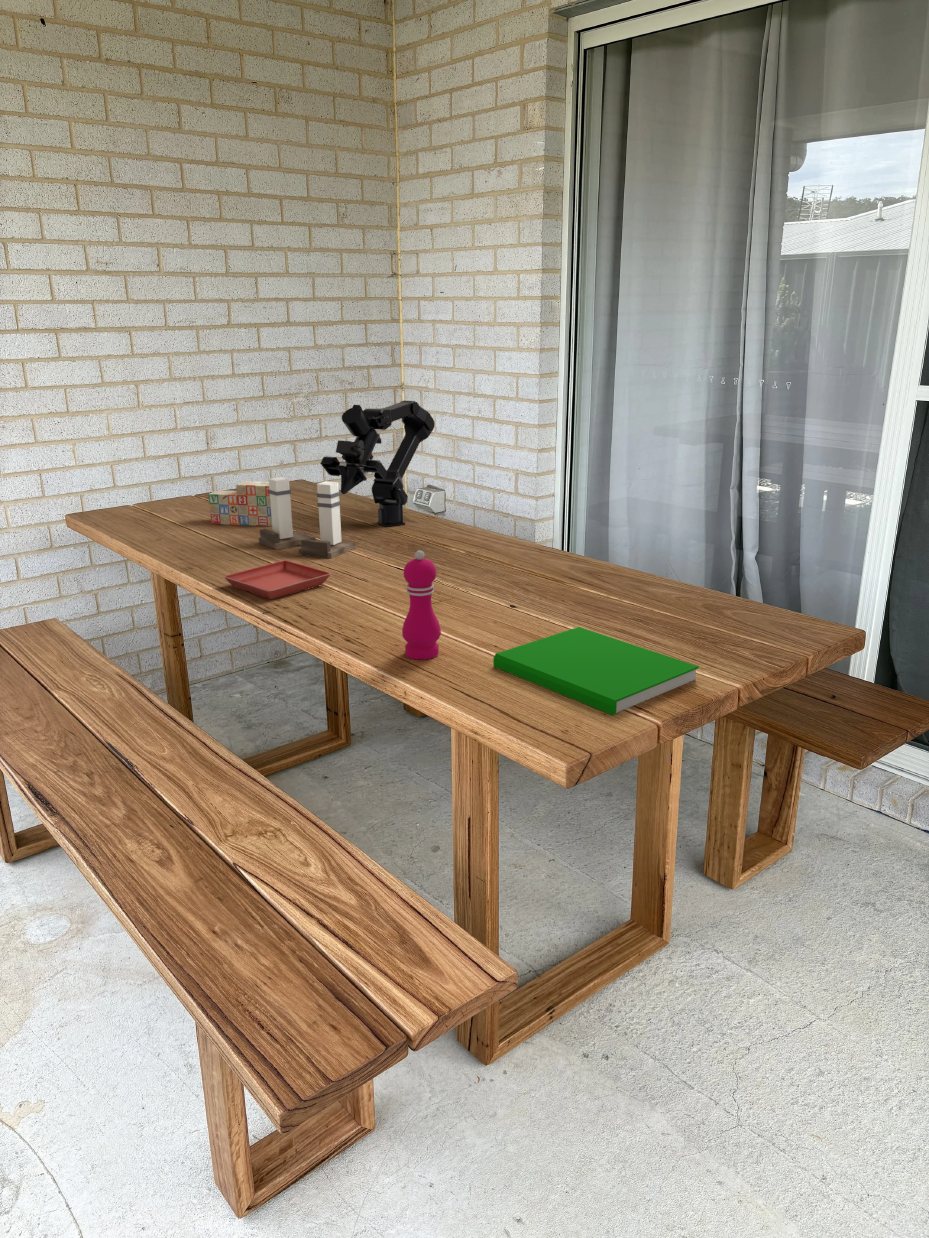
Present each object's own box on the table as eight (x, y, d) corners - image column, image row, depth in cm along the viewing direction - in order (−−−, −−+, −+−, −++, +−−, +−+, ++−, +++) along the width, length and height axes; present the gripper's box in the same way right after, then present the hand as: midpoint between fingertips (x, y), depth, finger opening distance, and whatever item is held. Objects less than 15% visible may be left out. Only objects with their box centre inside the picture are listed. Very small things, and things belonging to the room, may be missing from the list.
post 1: (286, 534, 259) (282, 476, 254) (293, 536, 256) (289, 478, 251) (272, 536, 257) (267, 478, 252) (279, 539, 254) (275, 480, 249)
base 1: (297, 536, 265) (296, 522, 264) (315, 542, 258) (314, 528, 256) (259, 543, 258) (258, 528, 257) (276, 549, 251) (275, 535, 249)
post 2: (328, 540, 252) (325, 481, 247) (342, 541, 251) (339, 482, 246) (319, 543, 249) (316, 484, 244) (333, 545, 247) (330, 485, 242)
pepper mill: (402, 647, 179) (399, 546, 172) (440, 646, 179) (438, 545, 173) (403, 661, 172) (399, 556, 165) (442, 660, 172) (440, 555, 166)
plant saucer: (270, 604, 207) (268, 590, 206) (223, 589, 218) (222, 575, 217) (333, 586, 219) (332, 572, 218) (286, 572, 231) (285, 559, 230)
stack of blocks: (210, 524, 281) (206, 483, 277) (219, 519, 287) (215, 480, 283) (277, 526, 277) (274, 485, 273) (285, 522, 283) (282, 481, 279)
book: (578, 641, 183) (578, 626, 182) (697, 682, 162) (699, 666, 162) (493, 669, 169) (493, 654, 168) (612, 718, 149) (613, 701, 148)
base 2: (323, 544, 256) (323, 530, 255) (355, 547, 252) (354, 533, 251) (298, 554, 246) (297, 539, 244) (331, 558, 242) (330, 543, 240)
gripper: (322, 426, 257) (300, 473, 251) (379, 430, 249) (358, 478, 243) (340, 451, 266) (319, 497, 260) (396, 455, 258) (376, 502, 252)
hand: (342, 493), depth 254 cm, fingers closed
